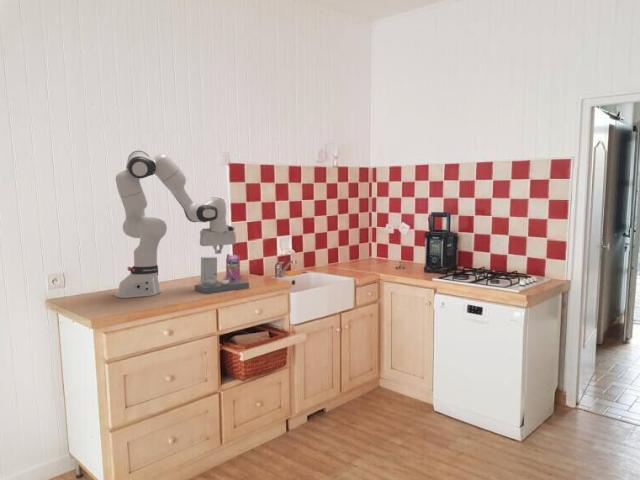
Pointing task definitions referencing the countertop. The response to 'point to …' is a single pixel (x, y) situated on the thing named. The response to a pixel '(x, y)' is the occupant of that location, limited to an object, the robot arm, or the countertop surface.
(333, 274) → the countertop surface
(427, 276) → the countertop surface
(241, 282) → the panel
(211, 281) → the grey button
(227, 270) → the gum box
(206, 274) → the skincare box
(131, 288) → the robot arm
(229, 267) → the lever
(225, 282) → the cream button
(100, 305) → the countertop surface
